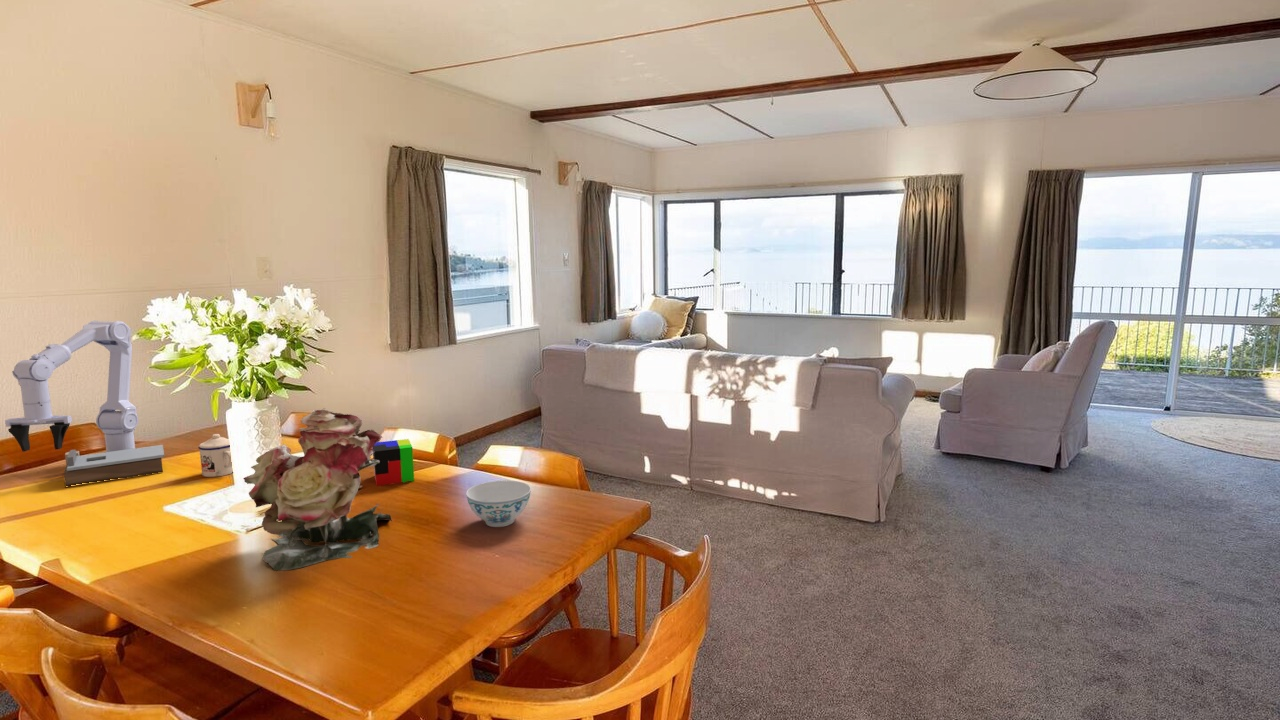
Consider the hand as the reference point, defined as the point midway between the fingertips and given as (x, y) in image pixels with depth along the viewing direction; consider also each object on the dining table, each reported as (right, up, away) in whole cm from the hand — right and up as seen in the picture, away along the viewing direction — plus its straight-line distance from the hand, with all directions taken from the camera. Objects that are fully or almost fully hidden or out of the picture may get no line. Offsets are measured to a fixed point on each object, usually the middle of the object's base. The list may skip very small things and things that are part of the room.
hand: (42, 449), depth 187 cm
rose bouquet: (+99, -15, -42) cm, 109 cm away
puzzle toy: (+98, -9, +4) cm, 99 cm away
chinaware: (+136, -13, -29) cm, 139 cm away
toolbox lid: (+14, -4, +9) cm, 17 cm away
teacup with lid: (+45, -9, +9) cm, 47 cm away
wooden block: (0, -8, +11) cm, 14 cm away
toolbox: (+14, -8, +9) cm, 18 cm away
